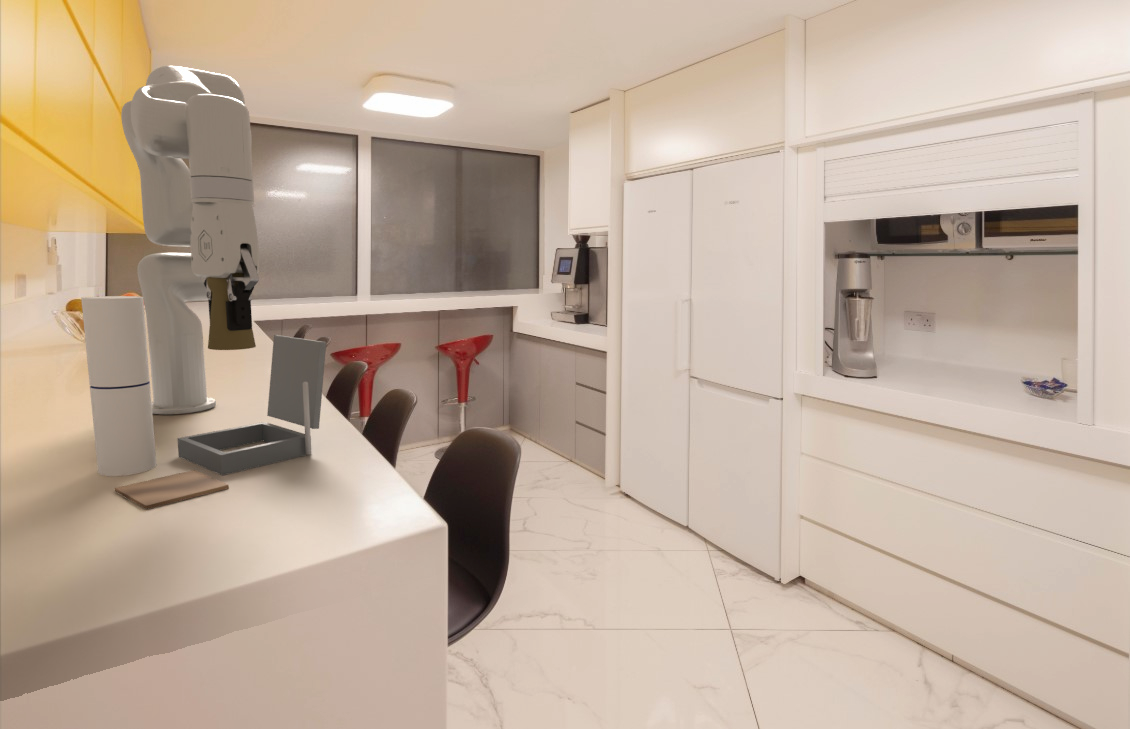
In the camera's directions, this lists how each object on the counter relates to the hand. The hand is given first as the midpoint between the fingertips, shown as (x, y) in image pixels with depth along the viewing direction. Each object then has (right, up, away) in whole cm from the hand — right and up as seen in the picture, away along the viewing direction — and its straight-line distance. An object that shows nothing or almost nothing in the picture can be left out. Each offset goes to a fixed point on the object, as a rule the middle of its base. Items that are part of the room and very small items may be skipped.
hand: (231, 327), depth 90 cm
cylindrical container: (-18, -21, +5) cm, 28 cm away
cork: (0, -3, 0) cm, 3 cm away
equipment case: (-4, -20, +12) cm, 23 cm away
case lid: (+2, -8, +17) cm, 19 cm away
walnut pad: (-6, -22, -4) cm, 23 cm away
